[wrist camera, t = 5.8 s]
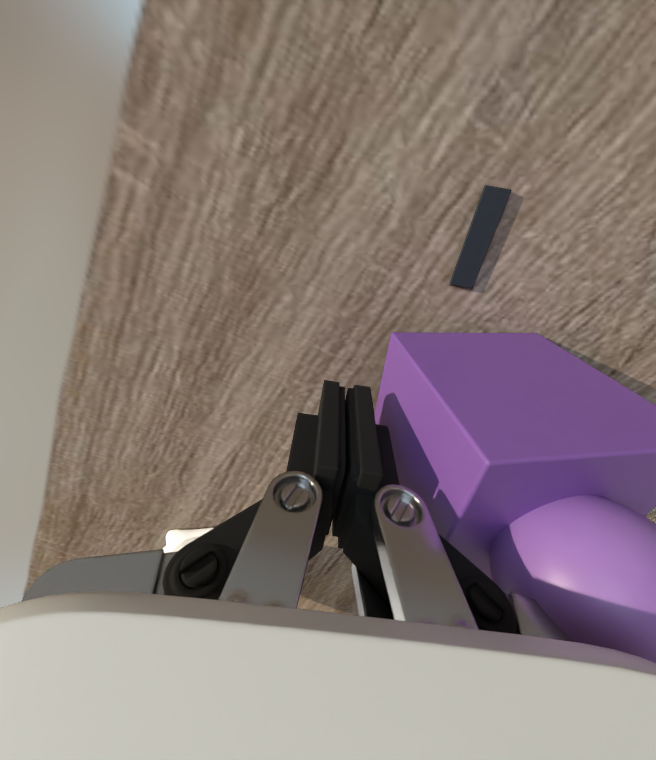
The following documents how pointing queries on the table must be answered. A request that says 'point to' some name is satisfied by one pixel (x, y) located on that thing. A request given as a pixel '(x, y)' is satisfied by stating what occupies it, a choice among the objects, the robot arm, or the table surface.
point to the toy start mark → (480, 235)
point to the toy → (532, 474)
